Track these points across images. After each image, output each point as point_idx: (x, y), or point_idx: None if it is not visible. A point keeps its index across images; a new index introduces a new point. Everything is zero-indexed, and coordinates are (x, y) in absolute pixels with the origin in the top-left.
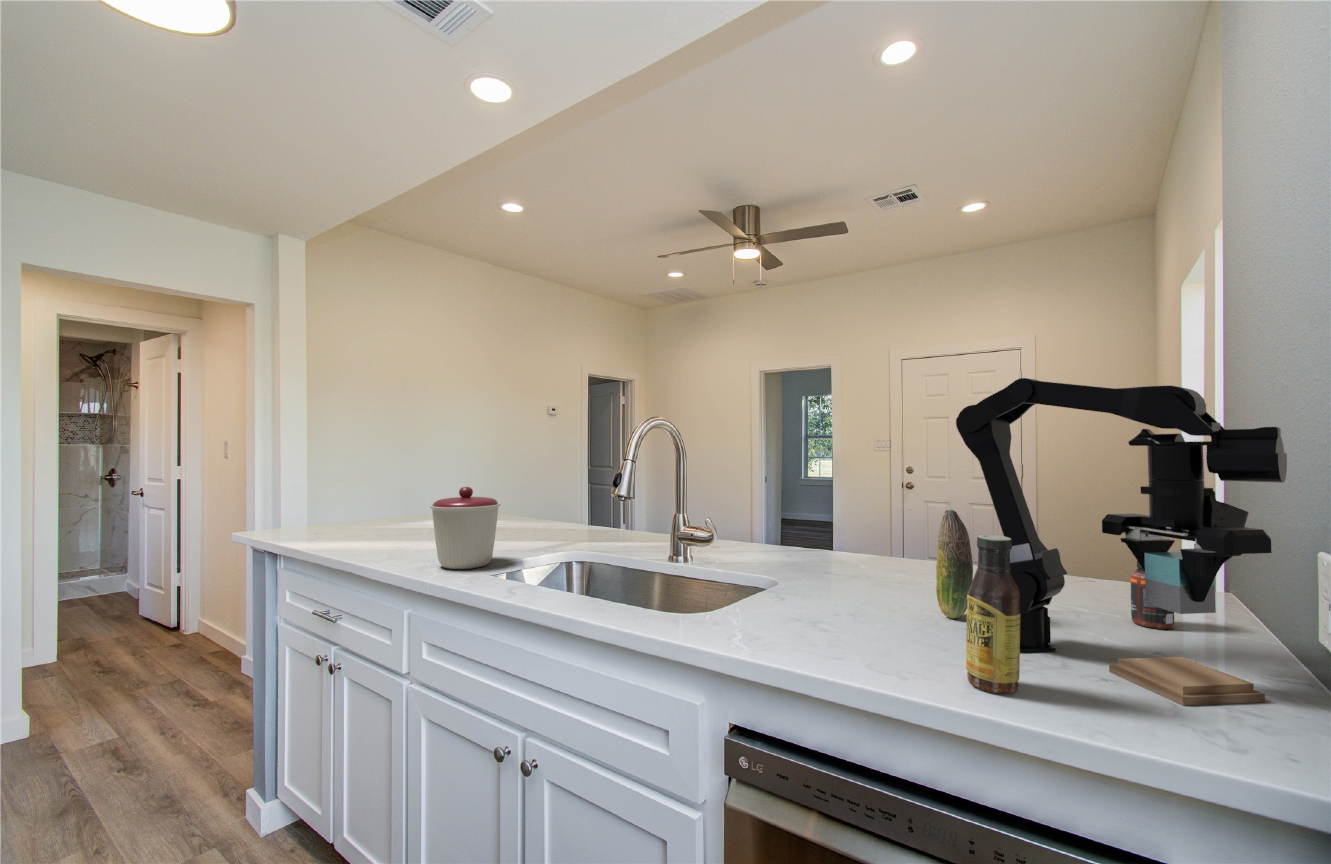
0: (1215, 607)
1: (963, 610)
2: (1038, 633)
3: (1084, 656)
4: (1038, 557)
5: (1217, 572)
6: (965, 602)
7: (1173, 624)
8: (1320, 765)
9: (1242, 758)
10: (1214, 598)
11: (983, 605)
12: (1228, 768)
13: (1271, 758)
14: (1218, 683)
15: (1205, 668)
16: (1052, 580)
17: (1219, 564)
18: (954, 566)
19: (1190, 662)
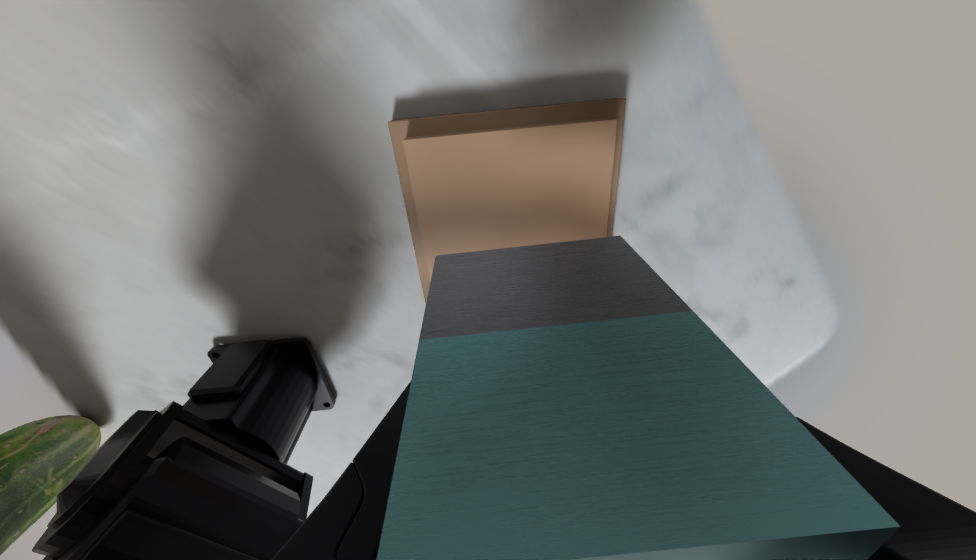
0: (629, 245)
1: (80, 433)
2: (298, 396)
3: (329, 297)
4: None
5: (857, 451)
6: (57, 450)
7: None
8: (815, 260)
9: (755, 340)
10: (650, 271)
11: None
12: (762, 371)
13: (772, 306)
14: (600, 213)
15: (501, 152)
16: (246, 543)
17: (966, 532)
18: None
19: (453, 154)
